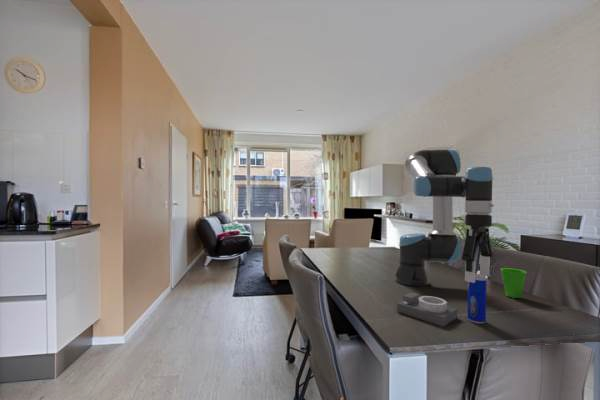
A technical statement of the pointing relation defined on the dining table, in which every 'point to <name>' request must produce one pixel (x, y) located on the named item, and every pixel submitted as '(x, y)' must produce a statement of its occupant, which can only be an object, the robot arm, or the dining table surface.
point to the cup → (513, 281)
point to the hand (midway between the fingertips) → (477, 278)
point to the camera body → (427, 309)
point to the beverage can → (477, 299)
